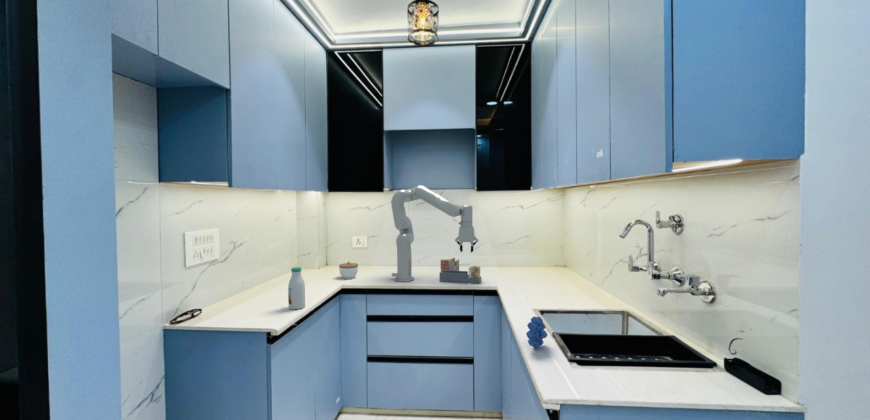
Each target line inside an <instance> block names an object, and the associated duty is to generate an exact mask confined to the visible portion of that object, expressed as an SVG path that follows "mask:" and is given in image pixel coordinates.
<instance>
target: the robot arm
mask: <svg viewBox="0 0 870 420" xmlns="http://www.w3.org/2000/svg"><path fill="white" fill-rule="evenodd" d="M417 200H422V201H423V202H426V203H427V204H429V205H431V206H433V207H434V208H436V209H438V210H439V211H441V212H443V213H445V214H447V215H448V216H450V217H454V218H455V217H460V221H458V225H460V226H459V228H458V236H457V237H456V238H455V239H454V242H456V243H457V245H459V251H460V253H462V252H463V247H464V246H463V243H470V253H473V252H474V246H475V245H476V244H477V243H478V242H479V239H478V238H477V237H476V236H475V234H476V233H475V227H474V226H473V205H470V204H461V205H460V204H454V203H452V202H450V201H449V200H447V199H445V198H444V197H443V196H442V195H441V194H439V193H437V192H436V191H433V190H431V188H428V187H427V186H425V185H422V184H418V185H416V186H415V187H412V188H408V189H406V188H405V189H403V188H402V189H400V190H397V191H396V192H395V193H394V194H393V196H392V197H391V200H390V204H391V210H392V217H393V222H394V223H393V224H394V227H395V228H396V230H397V231H398V232H399V234H398V235H397V237H396V240H395V242H396V243H395V244H396V245H395V246H396V250H397V251H396V261H397V263H396V265H397V266H396V267H397V269H396V271H397V272H391V276H392V277H395V278H394V281H396V282H401V283H402V282H403V283H405V282H412V281H414V280H415V277H414V276H412V275H413V274H412V270H413V269H412V263H413V262H412V245H411V244H412V243H413V242H414V240H415V236H414V235H415V234H414V229H413V224H412V220H411V219H410V217H409V216H407V214H406V213H407V212H406V208H405V203H410V202H412V201H417Z"/></svg>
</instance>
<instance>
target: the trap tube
mask: <svg viewBox="0 0 870 420" xmlns="http://www.w3.org/2000/svg"><path fill="white" fill-rule="evenodd" d="M466 274H469V270H468V271H466V270H459V271H453V270H443V272H441V271H440V272H439V282H440V283H451V284H452V283H455V284H468V283H471V284H472V285H473V284H474V285H480V284H481V283H482V276H481V275H480V278H479V279H474V278H469V276H466Z"/></svg>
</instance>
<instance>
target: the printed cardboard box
mask: <svg viewBox="0 0 870 420" xmlns="http://www.w3.org/2000/svg"><path fill="white" fill-rule="evenodd" d="M443 270H453V271H460V259H457V258H455V257H454V256H446V257H443V258H441V259H440V272H443Z"/></svg>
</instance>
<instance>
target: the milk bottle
mask: <svg viewBox="0 0 870 420" xmlns="http://www.w3.org/2000/svg"><path fill="white" fill-rule="evenodd" d="M290 273H291V277H290V279H289V282H288V288H287V294H288V299H287V300H288V309H289V308H290V309H289V310H291V309H298V310H301V308H302V309H305V307H306V285H305V284H306V283H305V279H304V278H303V276H302V267H300V266H299V267H298V266H297V267H291V272H290Z"/></svg>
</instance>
